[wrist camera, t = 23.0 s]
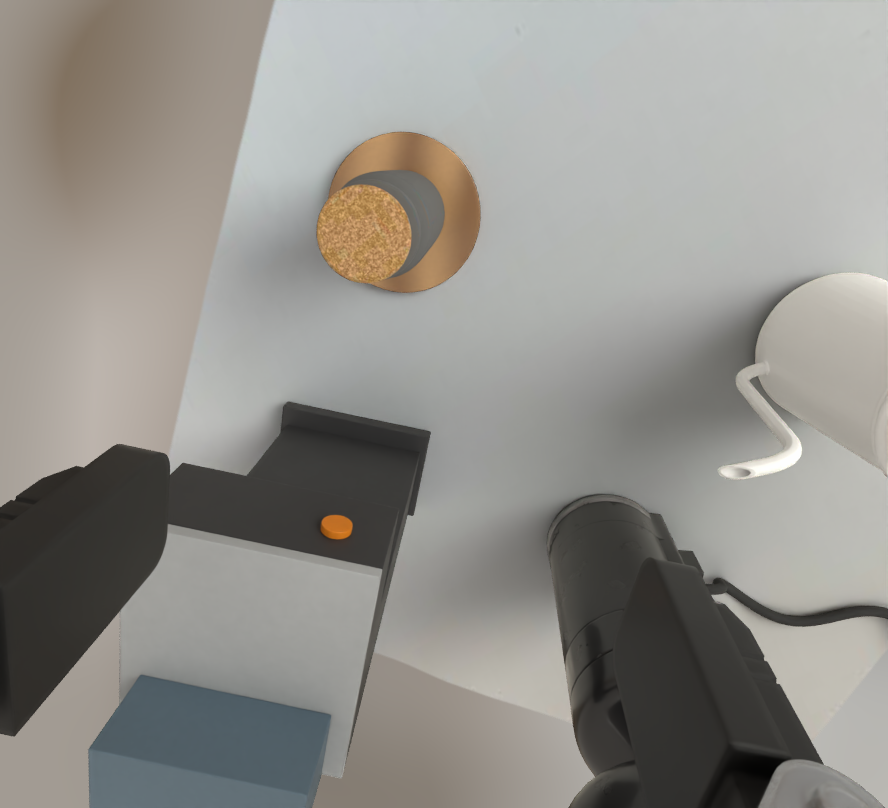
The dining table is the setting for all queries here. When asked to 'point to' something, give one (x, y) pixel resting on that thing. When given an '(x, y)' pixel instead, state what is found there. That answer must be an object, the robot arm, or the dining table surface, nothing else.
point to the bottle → (380, 225)
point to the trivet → (451, 185)
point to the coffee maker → (260, 620)
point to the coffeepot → (823, 370)
